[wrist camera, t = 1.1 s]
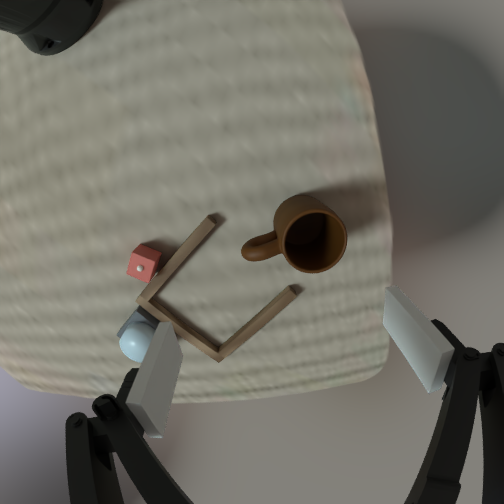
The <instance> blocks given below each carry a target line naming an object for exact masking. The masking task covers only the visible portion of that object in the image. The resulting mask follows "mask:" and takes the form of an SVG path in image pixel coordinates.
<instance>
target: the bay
mask: <svg viewBox="0 0 504 504" xmlns="http://www.w3.org/2000/svg"><path fill="white" fill-rule="evenodd" d="M216 223H217V222H216V221H215V220H214V219H212V218H211V217H210V216H209V215H208V216H207V217H206V218H205V219H204V220H203V221H202V223H201V224H200V225H199V226H198V227H197V228H196V229H195V230H194V232H193V233H192V234H191V235H190V236H189V237H188V238H187V239H186V241H185V242H184V243H183V244H182V245H181V246H180V248H179V249H178V250H177V251H176V252H175V253H174V254H173V256H172V257H171V258H170V259H169V260H168V262H167V263H166V264H165V265H164V266H163V267H162V269H161V270H160V271H159V272H158V273H157V275H156V276H155V277H154V278H153V279H152V281H151V282H150V283H149V284H148V285H147V287H146V288H145V289H144V290H143V292H142V293H141V294H140V295H139V297H138V298H137V300H136V301H135V302H137V303H138V304H139V305H140V306H142V307H143V308H144V309H145V310H147V311H148V312H149V313H150V314H152V315H153V316H154V317H156V318H157V319H158V320H159V321H161V322H169V321H171V323H172V326H173V329H174V332H175V333H177V334H178V335H180V336H181V337H182V338H184V339H185V340H187V341H188V342H189V343H191V344H192V345H194V346H195V347H196V348H198V349H199V350H201V351H202V352H204V353H205V354H207V355H208V356H210V357H211V358H213V359H214V360H216V361H217V362H220V361H222V360H223V359H224V358H225V357H227V356H228V355H229V354H230V353H232V352H233V351H234V350H235V349H236V348H238V347H239V346H240V345H241V344H242V343H244V342H245V341H246V340H247V339H248V338H250V337H251V336H252V335H253V334H254V333H256V332H257V331H258V330H259V329H260V328H261V327H263V326H264V325H265V324H266V323H267V322H268V321H270V320H271V319H272V318H273V317H274V316H275V315H276V314H278V313H279V312H280V311H281V310H282V309H283V308H284V307H285V306H287V305H288V304H289V303H290V302H291V301H292V300H293V299H294V298H296V297H297V295H296V292H295V291H294V290H293V289H292V288H291V287H290V286H287V287H286V288H285V289H284V290H283V291H282V292H281V293H280V294H279V295H278V296H277V297H275V298H274V299H273V300H272V301H271V302H270V303H269V304H268V305H267V306H265V307H264V308H263V309H262V310H261V311H260V312H259V313H258V314H257V315H255V316H254V317H253V318H252V319H251V320H250V321H249V322H247V323H246V324H245V325H244V326H243V327H242V328H241V329H240V330H238V331H237V332H236V333H235V334H234V335H233V336H231V337H230V338H229V339H228V340H227V341H226V342H224V343H223V344H222V345H221V346H220V347H219V348H218V347H217V346H215V345H214V344H212V343H211V342H210V341H208V340H207V339H205V338H204V337H203V336H201V335H200V334H198V333H197V332H196V331H194V330H193V329H192V328H190V327H189V326H187V325H186V324H185V323H183V322H182V321H181V320H179V319H178V318H177V317H175V316H174V315H173V314H172V313H170V312H169V311H168V310H166V309H165V308H164V307H163V306H161V305H160V304H159V303H157V302H156V301H155V300H154V299H152V298H151V297H152V296H153V295H154V294H155V293H156V291H157V290H158V289H159V288H160V287H161V286H162V284H163V283H164V282H165V281H166V280H167V279H168V277H169V276H170V275H171V274H172V273H173V272H174V271H175V269H176V268H177V267H178V266H179V265H180V264H181V263H182V262H183V260H184V259H185V258H186V257H187V256H188V255H189V254H190V253H191V251H192V250H193V249H194V248H195V247H196V246H197V245H198V244H199V243H200V241H201V240H202V239H203V238H204V237H205V236H206V235H207V234H208V233H209V232H210V230H211V229H212V228H213V227H214V226H215V225H216Z"/></svg>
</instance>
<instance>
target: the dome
mask: <svg viewBox="0 0 504 504" xmlns="http://www.w3.org/2000/svg"><path fill="white" fill-rule="evenodd" d="M155 331H156V330H155V329H154V328H153V327H151V326H150V325H148V324H146V323H143V322H133V323H131V324H129V325H128V327H127V328H126V330H125V332H124V333H123V335H122V337H121V339H120V347H121V350H122V351H123V353H124V354H125V355H126V356H127V357H129V358H130V359H132V360H134V361H136V362H141V363H142V361H143V359H144V356H145V354H146V352H147V349H148V347H149V345H150V342H151V340H152V338H153V336H154V333H155Z"/></svg>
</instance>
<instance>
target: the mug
mask: <svg viewBox="0 0 504 504" xmlns="http://www.w3.org/2000/svg"><path fill="white" fill-rule="evenodd" d="M273 223H274V230H273V231H272V232H270V233H267V234H264V235H261V236H257V237H255V238H252V239H250V240H249V241H247V242H246V243H245V244H244V245H243V247H242V249H241V254H242V256H243V258H245V259H246V260H248V261H261V260H265V259H268V258H271V257H273V256H276V255H278V254H281V253H282V254H283V255H284V256H285V258H286V260H287V261H288V262H289V264H290V265H291V266H293V267H294V268H295V269H297V270H299V271H301V272H305V273H320V272H323V271H326V270H328V269H330V268H332V267H333V266H334V265H336V264H337V263H338V262H339V260H340V259H341V258H342V256H343V254H344V252H345V249H346V246H347V232H346V228H345V226H344V224H343V222H342V221H341V219H340V218H339V217H338V216H337V215H336V214H335V213H334V212H333V211H332V210H331V209H329V208H328V207H327V206H325V205H324V204H323V203H321V202H320V201H318V200H317V199H315V198H313V197H310V196H306V195H297V196H293V197H290V198H288V199H287V200H285V201H284V202H283V203H282V204H281V205H280V206H279V207H278V209H277V211H276V213H275V216H274V222H273Z"/></svg>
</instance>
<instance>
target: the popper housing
mask: <svg viewBox="0 0 504 504" xmlns="http://www.w3.org/2000/svg"><path fill="white" fill-rule="evenodd" d="M133 322H143V323H146V324H148V325H150V326H151V327H153V328H154V329H155V330H156V329H157V327H158V324H159V322H161V321H159V320H158V319H157V318H156V317H154V316H153V315H152V314H150V313H149V312H148V311H147V310H145V309H144V308H143V307H142V306H140V305H139V306H138V308H137V309H136V310H135V311H134V312H133V314H132V315H131V316H130V317H129V319H128V320H127V321H126V322H125V324H124V325H123V326H122V327H121V329H120V330H119V332H118V333H117V336H118V337H119V338H121V337H122V335H123V333H124V332H125V330H126V328H127V327H128V325H129V324H131V323H133Z"/></svg>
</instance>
